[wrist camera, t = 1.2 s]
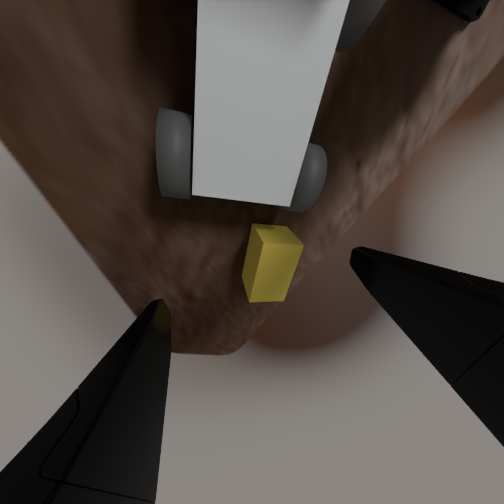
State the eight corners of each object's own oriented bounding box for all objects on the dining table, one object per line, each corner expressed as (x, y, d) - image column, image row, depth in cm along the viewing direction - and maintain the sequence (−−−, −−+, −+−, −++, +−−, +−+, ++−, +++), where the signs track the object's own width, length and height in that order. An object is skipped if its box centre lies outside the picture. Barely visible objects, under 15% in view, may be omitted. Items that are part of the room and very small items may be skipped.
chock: (286, 225, 24) (304, 245, 20) (271, 276, 28) (283, 301, 24) (252, 222, 22) (263, 242, 18) (241, 275, 26) (249, 302, 22)
